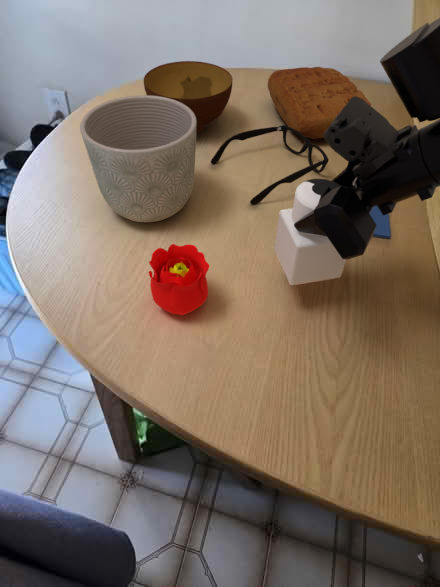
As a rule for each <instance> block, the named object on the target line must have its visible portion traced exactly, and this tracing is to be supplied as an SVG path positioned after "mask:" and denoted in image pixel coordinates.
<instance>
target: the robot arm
mask: <svg viewBox="0 0 440 587" xmlns="http://www.w3.org/2000/svg"><path fill="white" fill-rule="evenodd" d="M379 63H380V65H381V66H382V68H383V70H384V72H385V73H386V75H387V77H388V79H389V81H390V83H391V84H392V87H393V88H394V90H395V92H396V94H397V95H398V97H399V99H400V101H401V103H402V105H403V106H404V108H405V110H406V112H407V113H408V115H409V116H410V118H411V119H417V120H418V123H423V122H426V121H427V122H431V123H429V124H427V125H425V126H423V127H421V128H418V127H417V124H414V125H411V124H408V125H406V126H405V127H402V128H400V129H398V130H397V129H396V128H395V127H394V125H392V124H391V123H390V121H389V120H388V119H387V117H385V116H384V115H382V114H381V113H380V112H379V111H378V110H376V109H375V108H374V107H373V106H372V105H371V106H370V105H369V104H368V103H366V102H365V101H364V100H363V99H361V98H359V97H356V96H354V97H352V98H351V99H350V100H349V102H348V103H347V104H346V105H345V107H344V108H343V109H342V110H341V112H340V113H339V114H338V116H337V117H336V118H335V120H334V121H333V122H332V123H331V125H330V126H329V127H328V129H327V130H326V131H325V133H324V135H323V136H324V138H323V139H324V141H325V142H326V143H327V144H328V145H329V146H330V149H331V150H333V151H334V152H335V153H336V154H338V155H339V157H341V158H343V159H344V160H345V161H346V162H347V165H346V167H345V168H344V169H343V170H342V171H341V172H339V173H338V174H337V175H336V176H334V178H332V179H331V181H334V182H336V183H338V184H339V185H341V186H339V187H337V188H335V189H333V190H331V189H330V187H328V188H327V189H326V191H325V192H324V194H323V195H322V197H321V198H320V200H319V203H318V205H317V206H316V208H315V209H314V210H313V211H311V212H310V213H308V214H307V215H305V216H304V217H302V218H301V219H300V220H298V221H297V222H295V224H294V227H295V228H296V229H297V231H298V232H303V233H309V234H316V235H322V236H327V237H328V239H329V240H330V242H331V243H332V245H333V246H334V248H335V249H336V250H337V252H338V253H339V255H340V256H341V258H342V259H346V261H348V260H351V259H354V258H358V257H361V256H364V254H365V253H366V250H367V249H368V246H369V244H370V242H371V241H372V238H373V237H372V236H373V234H374V231H375V228H376V226H377V225H376V223H375V222H374V220H373V218H372V217H371V215H370V212H371V210H372V209H373V207H374V206H378V208H379V210H380V211H381V213H382V214H383V215H386V214H389V215H390V214H391V213H393V212H394V209H395V208H396V205H397V203H400V202H402V201H405V200H407V199H410V198H413V197H416V196H418V197H419V199H420V201H421V202H423V201H427V200H429V199H431V198H433V196H434V194H435V191H436V189H437V188H439V187H440V17H439V18H437V19H435V20H434V21H432V22H431V23H428V22H426V23H425V24H423V25H422V26H420V27H419V28H417V29H415V31H412V33H410V34H409V35H407V37H405V38H403V39H402V40H401V41H400V42H398V43H397V44H396V45H395V46H394V47H392V48H391V49H390V50H389V51H388V52H386V53H385V55H383V56H382V58H381V59H380V60H379Z"/></svg>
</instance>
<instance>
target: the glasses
mask: <svg viewBox="0 0 440 587" xmlns="http://www.w3.org/2000/svg"><path fill="white" fill-rule="evenodd" d="M288 131H290V132H292V133H294V134H295V135H297V136H299V137H301V139H302V141H304V144H303V145H302V147H301V148H300V150H299V151H298V150H295V149H293V148H292V147H290V146H289V144H288V143H287V133H288ZM275 132H282V143H283V145H284V147H285V148H286V149H287V150H289V151H290V152H291V153H293V154H294V155H295V154H296V155H302V154H303V153H306V151H307V158H308V160H307V161H308V163H309V166H306V167H303V168H301V169H298V170H297V171H295V172H292V173H291V174H289V175H287V176H285V177H283V178H281V179H279V180H277V181H275V182H273V183H272V184H269V185H268V186H267V187H265V188H264V189H263V190H261V191H260V192H259V193H258V194H256V195H255V196H253V197H252V198H251V199H250V201H249V203H250V205H257V204H259V203H261V202H263V200H264V199H265V198H266V197H268V195H270V193H272V192H273V190H274V189H276V188H277V187H278V186H280V185H282V184H291V183H293V182H295V181H297V180H299V179H300V178H302V177H304V176H305V175H307V174H309V173H310V172H313V171H314V172H315V173H319V174H320V173H322V172H324V170H325V169H326V166H327V165H328V163H329V158H328V155H327V154H326V152H325V151H324V149H322V148H321V147H320V146H319V145H317V144H315V143H312V142H311V141H310V140H309V138H308V137H305V136H304V135H303V134H301V133H300V132H298V131H297V130H295V129H293V128H290V127H289V126H288V125H284V124H282V125H279V126H270V127H269V126H268V127H262V128H256V129H251V130H246V131H243V132H240V133H237V134H235V135H233V136H231V137H229V138H227V139H226V140H225V141H224V142H223V143H222V144H221V146H220V147H219V148H218V149H217V151H216V152H215V153H214V156H213V157H212V158H211V160H210V164H212V165H215V164H217V163H218V162H219V161H220V159H221V157H222V155H224V152H225V151H226V149H227V147H228V146H229V144H231V142H233V141H245V140H248V139H252V138H255V137H259V136H263V135H267V134H271V133H275ZM314 148H315V149H316V150H317V151H318V152H319V153H320V154H321V156H322V157H323V159H321V160H320V161H318V162H315V163H313V159H312V157H313V150H314ZM320 166H321V167H320ZM319 167H320V169H318V168H319Z"/></svg>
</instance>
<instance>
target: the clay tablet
mask: <svg viewBox="0 0 440 587" xmlns="http://www.w3.org/2000/svg"><path fill="white" fill-rule="evenodd" d="M267 88H268V92H269V96H270V98H271V101H272V103H273V105H274V107H275V109H276V110H277V112H278V114H279V116H280V117H281V119H282V120H283V121H284V123H285V124H286V126H288V127H290V128H293V129H295V130H297V131H298V132H300V133H301V134H303V135H304V136H305V137H306V138H308V139H324V136H323V135H324V133H325V131H326V130H327V129H328V127H329V126H330V125H331V123H332V122H333V121H334V120H335V118H336V117H337V116H338V114H339V113H340V112H341V110H342V109H343V108H344V107H345V105H346V104H347V103H348V102H349V100H350V99H351V98H352V97H354V96H356V97H359V98H361V99H363V100H364V101H365V102H366V103H368V104H369V105H370V106H371V107H372V103H371V102H370V101H369V100H368V98H367V97H366V95H365V94H364V93H363V91H362V90H358V87H357V85H356V84H355V83H354V82H352V81H350V78H349V77H348V76H347V75H344V74H343V73H342V72H341V71H339V70H337V69H335V68H331V67H321V66H314V67H306V66H305V67H296V68H285V69H279V70H275V71H273V72H272V73H271V74H270V75H269V77H268V79H267Z"/></svg>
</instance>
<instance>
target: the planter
mask: <svg viewBox="0 0 440 587" xmlns="http://www.w3.org/2000/svg"><path fill="white" fill-rule="evenodd" d="M196 126H197V121H196V117H195V114H194V113H193V111H192V110H191V109H190V108H189V107H187V106H186V105H184V104H182V103H180V102H178V101H176V100H173V99H169V98H165V97H160V96H150V95H146V94H141V95H140V94H139V95H127V96H121V97H117V98H113V99H110V100H107V101H105V102H102V103H100V104H98V105H96V106H94V107H93V108H92V109H90V110H89V111H88V112H86V114H84V116H83V117H82V118H81V121H80V124H79V132H80V134H81V138H82V140H83V144H84V147H85V150H86V152H87V156H88V159H89V162H90V164H91V169H92V171H93V174H94V178H95V180H96V184H97V186H98V189H99V191H100V193H101V195H102V197H103V199H104V201H105V202H106V203H107V205H108V206H109V207H110V209H112V210H113V212H115V213H116V214H118V215H119V216H121V217H123V218H124V219H128V220H130V221H134V222H138V223H153V222H154V223H155V222H160V221H163V220H166V219H168V218H171V217H174V215H175V214H177V213H178V212H179V211H181V210H182V209H183V208H184V207H185V206H186V204H187V203H188V200H189V199H190V197H191V195H192V192H193V188H194V182H195V170H196V169H195V168H196V149H197V148H196V146H197V133H196Z"/></svg>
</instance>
